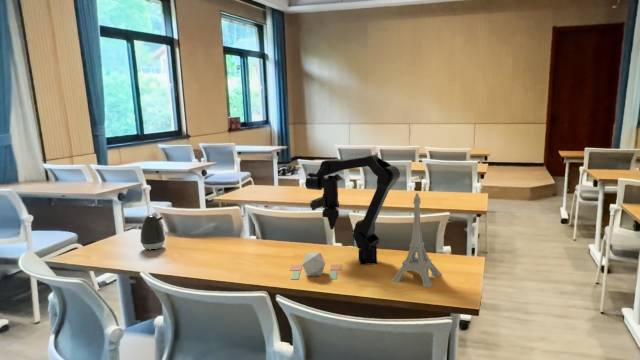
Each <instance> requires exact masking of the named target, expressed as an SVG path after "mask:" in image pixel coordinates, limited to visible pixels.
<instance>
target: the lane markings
mask: <svg viewBox="0 0 640 360" xmlns="http://www.w3.org/2000/svg"><path fill="white" fill-rule="evenodd" d="M302 268H303V265H302V264H291V266H290V269H289V271H291V272H292V276H291V280H295V281H296V280H299V279H300V278H299V277H300V275H301V270H302ZM329 268H330V269H329V280H337V277H338V276H337V275H338V271H342V264H340V263H339V264H338V263H337V264H336V263H333V264H330V267H329Z"/></svg>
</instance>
